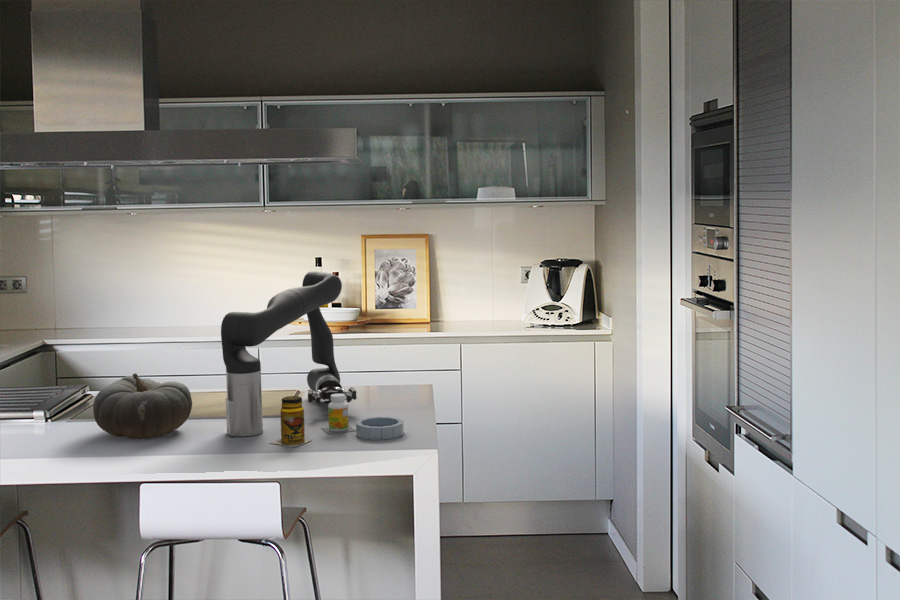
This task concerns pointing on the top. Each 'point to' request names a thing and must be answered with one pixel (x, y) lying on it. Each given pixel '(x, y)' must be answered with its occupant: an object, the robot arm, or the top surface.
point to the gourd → (142, 407)
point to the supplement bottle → (338, 413)
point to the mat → (339, 431)
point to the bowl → (379, 428)
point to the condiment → (292, 422)
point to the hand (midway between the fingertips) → (334, 399)
